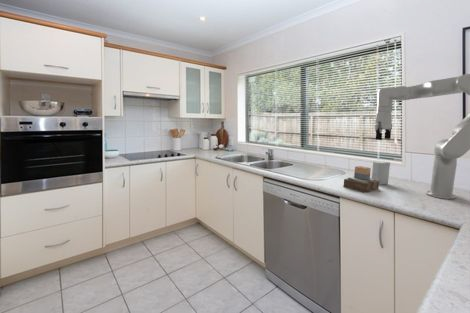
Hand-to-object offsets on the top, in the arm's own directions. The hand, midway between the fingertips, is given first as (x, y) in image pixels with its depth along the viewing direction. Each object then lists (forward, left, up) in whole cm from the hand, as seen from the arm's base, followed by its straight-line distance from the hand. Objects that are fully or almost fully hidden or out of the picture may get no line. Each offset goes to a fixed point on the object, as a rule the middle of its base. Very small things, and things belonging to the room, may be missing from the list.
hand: (383, 139), depth 146 cm
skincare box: (-13, -7, -31) cm, 34 cm away
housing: (+8, -6, -24) cm, 26 cm away
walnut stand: (+8, -7, -30) cm, 32 cm away
